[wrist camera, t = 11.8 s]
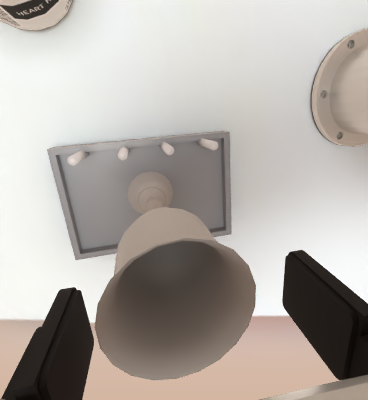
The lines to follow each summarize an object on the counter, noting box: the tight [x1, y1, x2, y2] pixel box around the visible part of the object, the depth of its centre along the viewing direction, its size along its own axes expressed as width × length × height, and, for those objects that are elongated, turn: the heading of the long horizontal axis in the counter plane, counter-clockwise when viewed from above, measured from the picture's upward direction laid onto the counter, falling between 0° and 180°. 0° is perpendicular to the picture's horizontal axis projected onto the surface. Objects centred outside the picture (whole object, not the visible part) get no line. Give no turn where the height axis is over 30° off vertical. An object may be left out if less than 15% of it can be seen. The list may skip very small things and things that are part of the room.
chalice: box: [95, 171, 256, 380], centre depth 19 cm, size 7×7×18 cm
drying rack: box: [47, 131, 231, 260], centre depth 25 cm, size 18×12×6 cm, turn 95°
